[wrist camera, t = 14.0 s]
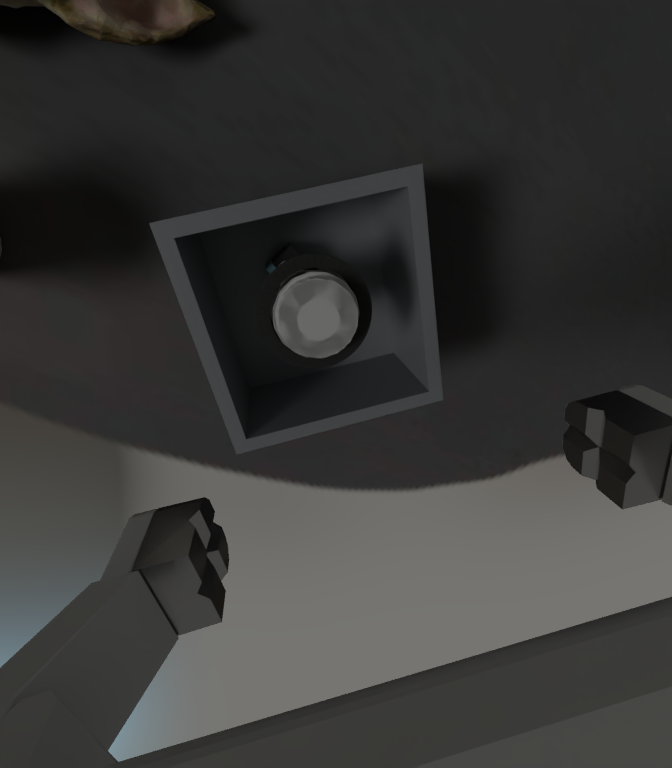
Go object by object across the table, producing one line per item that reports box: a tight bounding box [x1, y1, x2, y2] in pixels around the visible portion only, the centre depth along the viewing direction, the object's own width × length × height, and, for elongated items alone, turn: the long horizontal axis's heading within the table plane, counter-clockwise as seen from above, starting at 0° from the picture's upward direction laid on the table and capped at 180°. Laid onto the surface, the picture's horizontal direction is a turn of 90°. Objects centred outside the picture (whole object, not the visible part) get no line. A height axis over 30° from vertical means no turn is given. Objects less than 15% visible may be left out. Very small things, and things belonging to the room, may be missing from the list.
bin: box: [149, 164, 443, 454], centre depth 24 cm, size 13×13×8 cm
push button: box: [257, 243, 372, 369], centre depth 22 cm, size 7×5×10 cm
